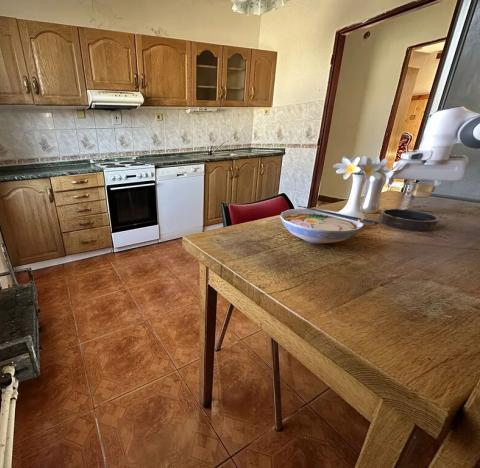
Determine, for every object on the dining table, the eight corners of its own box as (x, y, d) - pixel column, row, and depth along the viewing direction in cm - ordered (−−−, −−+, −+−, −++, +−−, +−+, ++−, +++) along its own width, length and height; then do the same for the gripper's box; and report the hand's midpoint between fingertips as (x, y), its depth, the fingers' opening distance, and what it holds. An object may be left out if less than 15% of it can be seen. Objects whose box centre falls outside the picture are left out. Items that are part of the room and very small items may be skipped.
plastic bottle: (362, 214, 106) (375, 165, 99) (355, 210, 112) (366, 163, 105) (380, 215, 105) (394, 165, 97) (372, 211, 111) (385, 163, 104)
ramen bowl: (260, 234, 89) (262, 211, 86) (303, 223, 99) (307, 202, 96) (331, 263, 68) (337, 234, 65) (377, 245, 78) (385, 220, 75)
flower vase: (380, 239, 82) (404, 158, 73) (316, 227, 94) (330, 156, 85) (384, 228, 91) (406, 155, 82) (325, 218, 103) (339, 153, 94)
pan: (422, 220, 97) (425, 210, 96) (445, 234, 84) (450, 223, 83) (372, 217, 103) (375, 207, 102) (387, 229, 90) (390, 219, 88)
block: (423, 194, 103) (427, 183, 101) (429, 196, 99) (433, 185, 97) (409, 193, 104) (413, 182, 103) (414, 196, 100) (418, 184, 99)
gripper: (464, 154, 95) (450, 191, 100) (396, 154, 102) (386, 188, 107) (476, 155, 90) (460, 194, 95) (403, 155, 97) (392, 191, 102)
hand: (420, 191), depth 101 cm, fingers closed on block, 4 cm apart
